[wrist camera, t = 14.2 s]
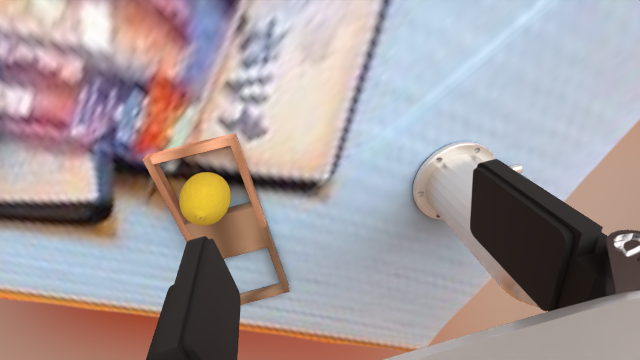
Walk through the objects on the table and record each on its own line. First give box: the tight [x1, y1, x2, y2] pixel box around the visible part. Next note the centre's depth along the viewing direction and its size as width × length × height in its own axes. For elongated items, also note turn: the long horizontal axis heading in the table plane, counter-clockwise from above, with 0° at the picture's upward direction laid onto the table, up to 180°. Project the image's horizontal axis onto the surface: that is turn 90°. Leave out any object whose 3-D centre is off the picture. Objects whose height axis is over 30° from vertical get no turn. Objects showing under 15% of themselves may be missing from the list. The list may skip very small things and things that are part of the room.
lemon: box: [179, 172, 231, 226], centre depth 37 cm, size 6×6×8 cm
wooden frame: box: [143, 133, 289, 305], centre depth 43 cm, size 11×27×2 cm, turn 11°
